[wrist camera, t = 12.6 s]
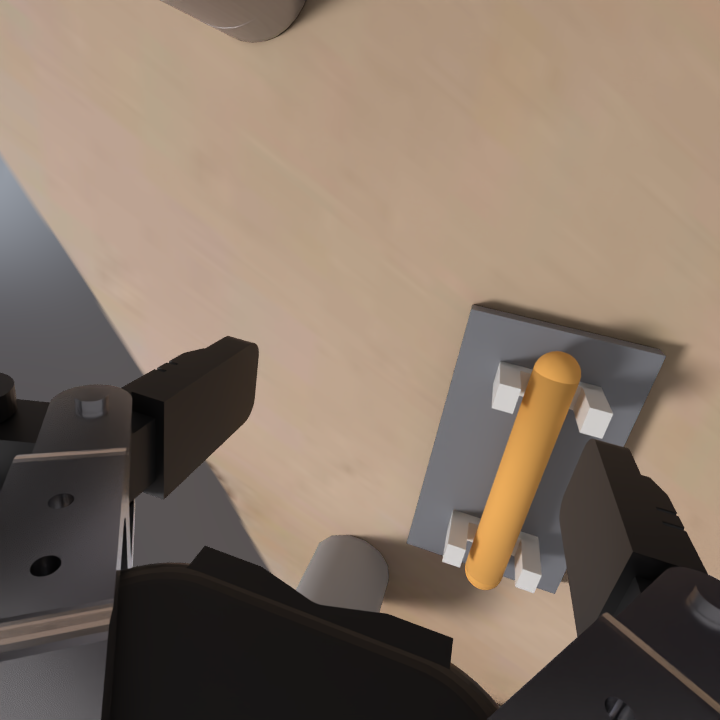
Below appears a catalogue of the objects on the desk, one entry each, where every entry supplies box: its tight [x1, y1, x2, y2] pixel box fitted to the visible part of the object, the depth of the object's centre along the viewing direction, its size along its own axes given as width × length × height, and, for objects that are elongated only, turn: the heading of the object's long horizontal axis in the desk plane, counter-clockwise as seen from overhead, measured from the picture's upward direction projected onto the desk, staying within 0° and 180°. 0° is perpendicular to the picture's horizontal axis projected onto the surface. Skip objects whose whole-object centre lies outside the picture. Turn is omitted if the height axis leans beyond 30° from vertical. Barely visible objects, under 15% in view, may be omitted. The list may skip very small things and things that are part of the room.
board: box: [407, 305, 666, 594], centre depth 39 cm, size 14×24×6 cm, turn 170°
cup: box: [296, 535, 389, 613], centre depth 47 cm, size 8×8×10 cm
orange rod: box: [465, 351, 581, 590], centre depth 38 cm, size 22×3×3 cm, turn 170°
